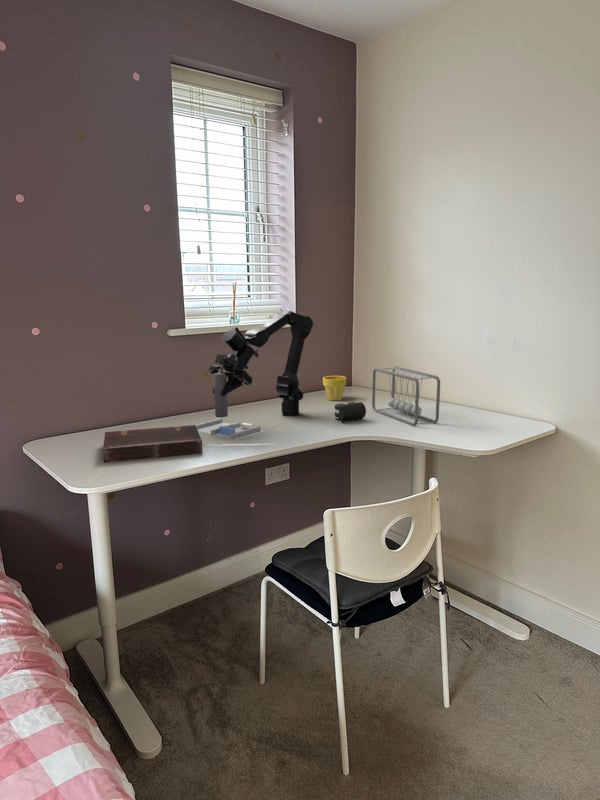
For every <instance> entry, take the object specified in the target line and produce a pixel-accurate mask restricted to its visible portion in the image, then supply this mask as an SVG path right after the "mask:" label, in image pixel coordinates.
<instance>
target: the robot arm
mask: <svg viewBox="0 0 600 800" xmlns="http://www.w3.org/2000/svg"><path fill="white" fill-rule="evenodd" d="M313 324H314V323H313V319H312V317H310V316H309V315H301V314H299V313H296V312H294V311H292V310H282V311H281V312H280V313H278V314H277V316H275V317H273V318H271V319H270V320H269V321H267V322H266V323H264V324H262V325H261V326H259V327H255V328H251V329H249V330H246V332H245V333H244V334H243V333H242V332H241V331H240V329H239V328H238V327H236V326H232V328H231V329H229V330H227V331H226V332H224V333H223V335H222V337H221V340H222V342H223V343H225V344H226V346H227V347H228V348H229V349H230V350H231V351H232V352H235V353H234V354H232V353H228V354H227V355H226V354H222V353H217V354H216V356H215V360H214V363H215V364H218V365H210V367H209V368H208V372H209V373H210V374H211V375H212V376H213V377H214V374H215V373H226V379H227V384H226V385H225V387H224V389H223V391H222V393H221V395H222V396H224V395H226V394H227V395H228V394H230V393H231V392H233V391H234V390H236V389H238V388H240V387H243V386H247V387H250V386H251V385H252V383H253V381H254V380H253V377H252V376H251V375H250V374H249V372H247V371H246V370H248V369H249V366H248V364H249V363H250V361H251V360H252V359H253V358H256V359H258V358H259V353H258V349H255V348H253V347H256V348H262V347H264V346H265V345H266V344H267V343H268V342H269V339H270V337H271V336H272V335H274V334H275V333H276V332H278V331H279V330H281V329H282V328H284V327H285V326H287V325H288V326H290V333H291V334H290V335H291V336H292V337H291V342H290V346H289V349H288V354H287V359H286V363H285V364H286V365H285V368H284V372H283V373H282V375H277V379H276V383H275V386H276V387H275V389H276V392H277V394H278V398H280V399H282V401H281V413H282V416H300V401H301V400H303V398H304V393H303V392H302V390H301V389H300V388H299V384H300V382H299V378H298V370H299V366H300V363H301V358H302V353H303V348H304V345H305V340H306V339H307V338H308V336H309V335H310V334H311V331H312V329H313V326H314V325H313ZM243 384H244V385H243ZM212 389H213V390H212V394H213V395H214V387H213V388H212Z"/></svg>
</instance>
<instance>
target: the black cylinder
mask: <svg viewBox="0 0 600 800" xmlns="http://www.w3.org/2000/svg"><path fill="white" fill-rule="evenodd" d="M334 410H336V411H338V412H334V417H335V419H334V421H336V420H338V421H337V422H339V421H341V422H340V423H345V421H347V422H353V421H358V420H359V419H360V420H362V419H363V418H365V416H366V415H367V409H366V405H365V404H364V403H363V402H361V401H358V402H355V401H351V402H347V403H345V404H344V403H341V402H340V403H336V404H335V405H334ZM352 420H353V421H352Z"/></svg>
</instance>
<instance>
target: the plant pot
mask: <svg viewBox="0 0 600 800" xmlns="http://www.w3.org/2000/svg"><path fill="white" fill-rule="evenodd" d="M322 385H323V386H324V390H325V394H326V399H327V400H328V401H342V400H343V398H344V391H345V387H346V386H347V377H346V376H343V375H327V376H323V377H322Z"/></svg>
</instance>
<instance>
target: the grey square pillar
mask: <svg viewBox="0 0 600 800" xmlns="http://www.w3.org/2000/svg"><path fill="white" fill-rule="evenodd" d="M227 382H228V378H226V373H215V374H214V376H213V388H214V394H213V395H214V416H215V417H216V418H226V417H229V412H228V411H229V410H228V408H229V407H228V394H226V395H224V396H222V395H221V393H222V391H223V389H224V387H225V385H226V384H227Z"/></svg>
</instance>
